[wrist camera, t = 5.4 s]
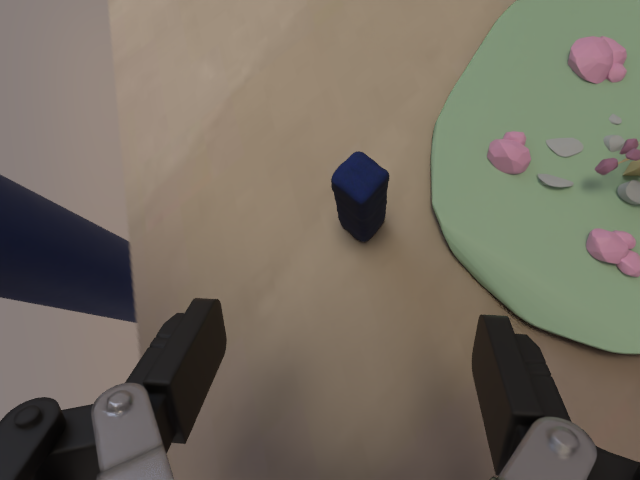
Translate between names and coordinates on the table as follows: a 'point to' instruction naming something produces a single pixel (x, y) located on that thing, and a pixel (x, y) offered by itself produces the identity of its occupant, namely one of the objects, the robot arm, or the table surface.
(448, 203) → the plant
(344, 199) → the eraser
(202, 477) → the table surface
